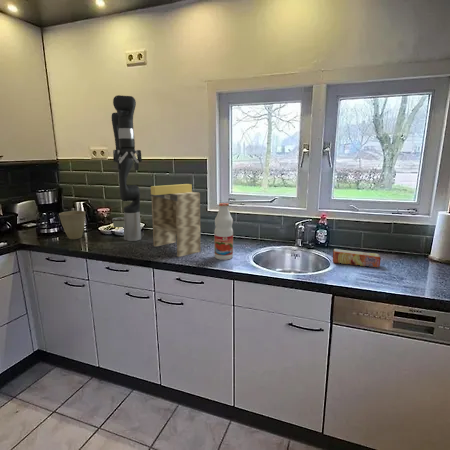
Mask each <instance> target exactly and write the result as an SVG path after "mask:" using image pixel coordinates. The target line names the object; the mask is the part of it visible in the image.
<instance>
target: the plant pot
mask: <svg viewBox="0 0 450 450" xmlns="http://www.w3.org/2000/svg"><path fill="white" fill-rule="evenodd" d="M58 217H59V219H60V223H61V225H62V227H63V230H64V232H65V233H64V234H65V235H66V236H67V239H69V240H78V239H81V238H82V237H83V234H84V229H85V223H86V211H85V210H70V211H62V212H59V213H58Z"/></svg>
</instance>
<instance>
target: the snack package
mask: <svg viewBox="0 0 450 450" xmlns="http://www.w3.org/2000/svg"><path fill="white" fill-rule="evenodd" d="M332 250H333V251H332V263H333V264H340V263H341V264H340V265H348V264H350V265H349V266H357V265H360V267H365V266H369V267H368V268H373V267H379V268H380V266H381V259H382V258H381V255H380V254H379V253H374V252H373V253H372V252H364V251H357V250H356V251H354V250H345V249H340V248H339V249H338V248H334V249H332Z"/></svg>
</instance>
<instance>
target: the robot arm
mask: <svg viewBox="0 0 450 450" xmlns="http://www.w3.org/2000/svg"><path fill="white" fill-rule="evenodd" d="M136 102H137V101H136V98H135V97H134V96H132V95H122V94H121V95H120V94H119V95H115V96H114V97H113V99H112V105H113V107H114V109H115V111H116V112H113V113H111V124H112V131H113V136H114V144H115V149H113V153H112V154H113V159H112V160H113V162H114V163H116V164H117V170H118V180H119V185H118V186H119V197H120V199H121V201H122V202H131V203H130V204H128V205H126V206H124V208H123V215H124V216H123V217H124V221H125V224H124V225H123V228H124V234H123V240H124V241H127V242H136V241H140V240H142V230H141V228H142V227H141V210H140V209H141V208H140V207H141V191H140V187H139V186H138V185H136V184H134V185H133V184H132V185H127V179H128V175H129V173H130V171H131V170H132V167H133V165H134V171H135V172H137V171H138V170H139V163H142V162H143V157H142V151H141V150H140V149H136V148H135V147H136V142H135V132H134V131H135V130H134V115H135V110H136V104H137V103H136Z"/></svg>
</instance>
